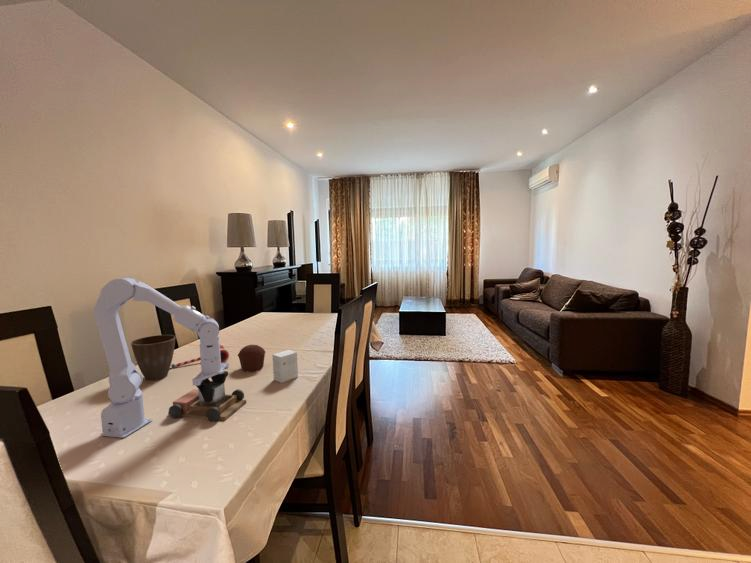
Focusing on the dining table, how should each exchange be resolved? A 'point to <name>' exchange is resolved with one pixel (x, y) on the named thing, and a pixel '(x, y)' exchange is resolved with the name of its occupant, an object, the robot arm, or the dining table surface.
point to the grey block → (214, 396)
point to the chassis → (191, 406)
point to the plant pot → (154, 355)
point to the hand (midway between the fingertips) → (213, 397)
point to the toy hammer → (223, 354)
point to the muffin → (251, 358)
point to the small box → (285, 366)
